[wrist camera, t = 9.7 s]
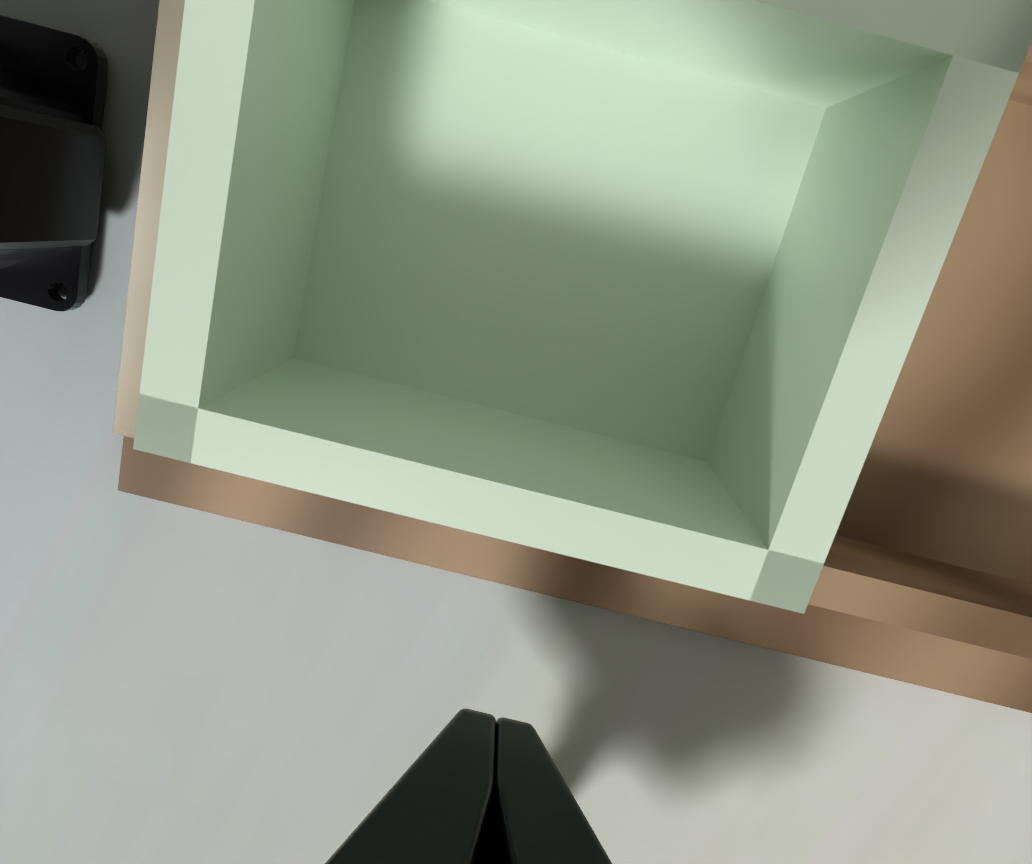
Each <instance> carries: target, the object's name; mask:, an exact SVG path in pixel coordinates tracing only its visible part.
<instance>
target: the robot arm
mask: <svg viewBox="0 0 1032 864" xmlns="http://www.w3.org/2000/svg"><path fill="white" fill-rule="evenodd" d="M82 51H84V52H85V54H86V55H87V60H88V63H87V65H86V68H84V69H83V70H82V71H80V70H79V68H78V67H77V63H76V58H77V55H78V54H79V53H80V52H82ZM107 69H108V67H107V59H106V56H105V54H104V52H103V50H102V49H101V48H100V47H99V46H98V45H97V44H96V43H94V42H92V41H89V40H87V39H85V38H82V37H80V36H77V35H73V34H69V33H65V32H62V31H58V30H54V29H50V28H46V27H43V26H39V25H35V24H31V23H28V22H24V21H20V20H16V19H12V18H9V17H5V16H1V15H0V297H3V298H7V299H11V300H15V301H19V302H23V303H27V304H31V305H35V306H39V307H43V308H47V309H51V310H55V311H68V310H73V309H76V308H78V307H80V306H81V305H82V304H83V303H84V301H85V298H86V295H87V284H88V274H89V263H90V252H91V243H92V242H93V241H94V240H96V238H97V234H98V224H99V213H100V203H101V192H102V182H103V171H104V160H105V150H106V139H105V137H104V135H103V133H102V123H103V112H104V101H105V90H106V80H107ZM60 282H61V283H63V284H64V285H65V287H66V288H67V292H68V295H67V297H66V299H64V298H62V297H61V296H60V295H59V293H58V289H57V287H58V284H59V283H60ZM325 864H612V863H611V861H610V859H609V858H608V856H607V854H606V852H605V851H604V849H603V847H602V845H601V844H600V842H599V840H598V838H597V837H596V835H595V833H594V831H593V830H592V828H591V826H590V824H589V823H588V821H587V819H586V818H585V816H584V814H583V812H582V811H581V809H580V807H579V805H578V804H577V802H576V800H575V798H574V797H573V795H572V793H571V791H570V790H569V788H568V786H567V784H566V783H565V781H564V779H563V778H562V776H561V774H560V772H559V771H558V769H557V767H556V765H555V764H554V762H553V760H552V758H551V757H550V755H549V753H548V751H547V750H546V748H545V746H544V744H543V743H542V741H541V739H540V738H539V736H538V734H537V732H536V731H535V729H534V727H533V726H532V725H530V724H528V723H524V722H520V721H516V720H512V719H507V718H499V719H498V720H497V721H496V720H495V718H494V717H493V716H492V715H490V714H486V713H482V712H478V711H474V710H470V709H462V710H460V711H459V712H458V713H457V714H456V715H455V717H454V718H453V719H452V720H451V721H450V722H449V723H448V724H447V726H446V727H445V728H444V729H443V730H442V731H441V732H440V734H439V735H438V736H437V737H436V738H435V739H434V740H433V741H432V743H431V744H430V745H429V746H428V747H427V748H426V749H425V751H424V752H423V753H422V754H421V755H420V756H419V757H418V759H417V760H416V761H415V762H414V763H413V764H412V765H411V766H410V768H409V769H408V770H407V771H406V772H405V773H404V774H403V776H402V777H401V778H400V779H399V780H398V781H397V782H396V784H395V785H394V786H393V787H392V788H391V789H390V790H389V791H388V793H387V794H386V795H385V796H384V797H383V798H382V799H381V801H380V802H379V803H378V804H377V805H376V806H375V807H374V809H373V810H372V811H371V812H370V813H369V814H368V815H367V816H366V818H365V819H364V820H363V821H362V822H361V823H360V824H359V826H358V827H357V828H356V829H355V830H354V831H353V832H352V834H351V835H350V836H349V837H348V838H347V839H346V840H345V841H344V843H343V844H342V845H341V846H340V847H339V848H338V849H337V851H336V852H335V853H334V854H333V855H332V856H331V857H330V859H329V860H328V861H327V862H326V863H325Z"/></svg>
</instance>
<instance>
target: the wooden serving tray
mask: <svg viewBox="0 0 1032 864" xmlns="http://www.w3.org/2000/svg"><path fill="white" fill-rule="evenodd" d="M184 5H185V0H159V9H158V18H157V28H156V37H155V46H154V56H153V65H152V74H151V83H150V93H149V102H148V111H147V121H146V130H145V139H144V148H143V158H142V167H141V176H140V186H139V195H138V204H137V214H136V223H135V232H134V241H133V251H132V260H131V269H130V279H129V288H128V297H127V306H126V316H125V325H124V334H123V344H122V353H121V362H120V371H119V381H118V390H117V399H116V409H115V418H114V427H113V433H115V434H119V435H123V436H124V439H123V448H122V457H121V466H120V475H119V484H118V490H119V491H123V492H127V493H131V494H135V495H140V496H144V497H148V498H152V499H156V500H160V501H164V502H168V503H172V504H176V505H181V506H185V507H189V508H193V509H197V510H201V511H205V512H209V513H213V514H218V515H222V516H226V517H230V518H234V519H238V520H242V521H246V522H250V523H254V524H259V525H263V526H267V527H271V528H275V529H279V530H283V531H287V532H291V533H296V534H300V535H304V536H308V537H312V538H316V539H320V540H324V541H328V542H332V543H337V544H341V545H345V546H349V547H353V548H357V549H361V550H365V551H369V552H374V553H378V554H382V555H386V556H390V557H394V558H398V559H402V560H406V561H410V562H415V563H419V564H423V565H427V566H431V567H435V568H439V569H443V570H447V571H451V572H456V573H460V574H464V575H468V576H472V577H476V578H480V579H484V580H488V581H493V582H497V583H501V584H505V585H509V586H513V587H517V588H521V589H525V590H529V591H534V592H538V593H542V594H546V595H550V596H554V597H558V598H562V599H566V600H571V601H575V602H579V603H583V604H587V605H591V606H595V607H599V608H603V609H607V610H612V611H616V612H620V613H624V614H628V615H632V616H636V617H640V618H644V619H649V620H653V621H657V622H661V623H665V624H669V625H673V626H677V627H681V628H685V629H690V630H694V631H698V632H702V633H706V634H710V635H714V636H718V637H722V638H726V639H731V640H735V641H739V642H743V643H747V644H751V645H755V646H759V647H763V648H768V649H772V650H776V651H780V652H784V653H788V654H792V655H796V656H800V657H804V658H809V659H813V660H817V661H821V662H825V663H829V664H833V665H837V666H841V667H846V668H850V669H854V670H858V671H862V672H866V673H870V674H874V675H878V676H882V677H887V678H891V679H895V680H899V681H903V682H907V683H911V684H915V685H919V686H924V687H928V688H932V689H936V690H940V691H944V692H948V693H952V694H956V695H960V696H965V697H969V698H973V699H977V700H981V701H985V702H989V703H993V704H997V705H1002V706H1006V707H1010V708H1014V709H1018V710H1022V711H1026V712H1030V713H1032V42H1031V44H1030V47H1029V49H1028V52H1027V54H1026V57H1025V59H1024V62H1023V65H1022V67H1021V70H1020V72H1019V75H1018V77H1017V80H1016V82H1015V85H1014V87H1013V90H1012V92H1011V95H1010V97H1009V100H1008V102H1007V105H1006V107H1005V110H1004V112H1003V115H1002V117H1001V120H1000V122H999V125H998V127H997V130H996V132H995V135H994V137H993V140H992V142H991V145H990V147H989V150H988V153H987V155H986V158H985V160H984V163H983V165H982V168H981V170H980V173H979V175H978V178H977V180H976V183H975V185H974V188H973V190H972V193H971V195H970V198H969V200H968V203H967V205H966V208H965V210H964V213H963V215H962V218H961V220H960V223H959V225H958V228H957V230H956V233H955V236H954V238H953V241H952V243H951V246H950V248H949V251H948V253H947V256H946V258H945V261H944V263H943V266H942V268H941V271H940V273H939V276H938V278H937V281H936V283H935V286H934V288H933V291H932V293H931V296H930V298H929V301H928V303H927V306H926V308H925V311H924V313H923V316H922V318H921V321H920V324H919V326H918V329H917V331H916V334H915V336H914V339H913V341H912V344H911V346H910V349H909V351H908V354H907V356H906V359H905V361H904V364H903V366H902V369H901V371H900V374H899V376H898V379H897V381H896V384H895V386H894V389H893V391H892V394H891V396H890V399H889V401H888V404H887V406H886V409H885V412H884V414H883V417H882V419H881V422H880V424H879V427H878V429H877V432H876V434H875V437H874V439H873V442H872V444H871V447H870V449H869V452H868V454H867V457H866V459H865V462H864V464H863V467H862V469H861V472H860V474H859V477H858V479H857V482H856V484H855V487H854V489H853V492H852V495H851V497H850V500H849V502H848V505H847V507H846V510H845V512H844V515H843V517H842V520H841V522H840V525H839V527H838V530H837V532H836V535H835V537H834V540H833V542H832V545H831V547H830V550H829V552H828V555H827V557H826V560H825V562H824V565H823V567H822V570H821V572H820V575H819V577H818V580H817V583H816V585H815V588H814V590H813V593H812V595H811V598H810V600H809V603H808V605H807V608H806V610H805V613H804V614H802V613H798V612H794V611H790V610H786V609H782V608H778V607H774V606H770V605H766V604H762V603H758V602H754V601H750V600H745V599H741V598H737V597H733V596H729V595H725V594H721V593H717V592H713V591H709V590H705V589H701V588H697V587H693V586H688V585H684V584H680V583H676V582H672V581H668V580H664V579H660V578H656V577H652V576H648V575H644V574H640V573H636V572H631V571H627V570H623V569H619V568H615V567H611V566H607V565H603V564H599V563H595V562H591V561H587V560H583V559H579V558H574V557H570V556H566V555H562V554H558V553H554V552H550V551H546V550H542V549H538V548H534V547H530V546H526V545H522V544H518V543H513V542H509V541H505V540H501V539H497V538H493V537H489V536H485V535H481V534H477V533H473V532H469V531H465V530H461V529H456V528H452V527H448V526H444V525H440V524H436V523H432V522H428V521H424V520H420V519H416V518H412V517H408V516H404V515H399V514H395V513H391V512H387V511H383V510H379V509H375V508H371V507H367V506H363V505H359V504H355V503H351V502H347V501H342V500H338V499H334V498H330V497H326V496H322V495H318V494H314V493H310V492H306V491H302V490H298V489H294V488H290V487H286V486H281V485H277V484H273V483H269V482H265V481H261V480H257V479H253V478H249V477H245V476H241V475H237V474H233V473H229V472H224V471H220V470H216V469H212V468H208V467H204V466H200V465H196V464H192V463H188V462H184V461H180V460H176V459H172V458H167V457H163V456H159V455H155V454H151V453H147V452H143V451H139V450H135V449H133V445H134V436H135V427H136V419H137V410H138V401H139V393H140V384H141V376H142V367H143V358H144V350H145V341H146V333H147V324H148V315H149V307H150V298H151V289H152V281H153V272H154V264H155V255H156V246H157V238H158V229H159V220H160V212H161V203H162V195H163V186H164V177H165V169H166V160H167V152H168V143H169V134H170V126H171V117H172V108H173V100H174V91H175V83H176V74H177V65H178V57H179V48H180V39H181V31H182V22H183V14H184Z"/></svg>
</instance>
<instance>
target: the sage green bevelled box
mask: <svg viewBox="0 0 1032 864" xmlns="http://www.w3.org/2000/svg"><path fill="white" fill-rule="evenodd" d="M1031 42H1032V0H185V5H184V14H183V22H182V31H181V39H180V48H179V57H178V65H177V74H176V83H175V91H174V100H173V108H172V117H171V126H170V134H169V143H168V152H167V160H166V169H165V177H164V186H163V195H162V203H161V212H160V220H159V229H158V238H157V246H156V255H155V264H154V272H153V281H152V289H151V298H150V307H149V315H148V324H147V333H146V341H145V350H144V358H143V367H142V376H141V384H140V393H139V401H138V410H137V419H136V427H135V436H134V445H133V449H135V450H139V451H143V452H147V453H151V454H155V455H159V456H163V457H167V458H172V459H176V460H180V461H184V462H188V463H192V464H196V465H200V466H204V467H208V468H212V469H216V470H220V471H224V472H229V473H233V474H237V475H241V476H245V477H249V478H253V479H257V480H261V481H265V482H269V483H273V484H277V485H281V486H286V487H290V488H294V489H298V490H302V491H306V492H310V493H314V494H318V495H322V496H326V497H330V498H334V499H338V500H342V501H347V502H351V503H355V504H359V505H363V506H367V507H371V508H375V509H379V510H383V511H387V512H391V513H395V514H399V515H404V516H408V517H412V518H416V519H420V520H424V521H428V522H432V523H436V524H440V525H444V526H448V527H452V528H456V529H461V530H465V531H469V532H473V533H477V534H481V535H485V536H489V537H493V538H497V539H501V540H505V541H509V542H513V543H518V544H522V545H526V546H530V547H534V548H538V549H542V550H546V551H550V552H554V553H558V554H562V555H566V556H570V557H574V558H579V559H583V560H587V561H591V562H595V563H599V564H603V565H607V566H611V567H615V568H619V569H623V570H627V571H631V572H636V573H640V574H644V575H648V576H652V577H656V578H660V579H664V580H668V581H672V582H676V583H680V584H684V585H688V586H693V587H697V588H701V589H705V590H709V591H713V592H717V593H721V594H725V595H729V596H733V597H737V598H741V599H745V600H750V601H754V602H758V603H762V604H766V605H770V606H774V607H778V608H782V609H786V610H790V611H794V612H798V613H802V614H804V613H805V610H806V608H807V605H808V603H809V600H810V598H811V595H812V593H813V590H814V588H815V585H816V583H817V580H818V577H819V575H820V572H821V570H822V567H823V565H824V562H825V560H826V557H827V555H828V552H829V550H830V547H831V545H832V542H833V540H834V537H835V535H836V532H837V530H838V527H839V525H840V522H841V520H842V517H843V515H844V512H845V510H846V507H847V505H848V502H849V500H850V497H851V495H852V492H853V489H854V487H855V484H856V482H857V479H858V477H859V474H860V472H861V469H862V467H863V464H864V462H865V459H866V457H867V454H868V452H869V449H870V447H871V444H872V442H873V439H874V437H875V434H876V432H877V429H878V427H879V424H880V422H881V419H882V417H883V414H884V412H885V409H886V406H887V404H888V401H889V399H890V396H891V394H892V391H893V389H894V386H895V384H896V381H897V379H898V376H899V374H900V371H901V369H902V366H903V364H904V361H905V359H906V356H907V354H908V351H909V349H910V346H911V344H912V341H913V339H914V336H915V334H916V331H917V329H918V326H919V324H920V321H921V318H922V316H923V313H924V311H925V308H926V306H927V303H928V301H929V298H930V296H931V293H932V291H933V288H934V286H935V283H936V281H937V278H938V276H939V273H940V271H941V268H942V266H943V263H944V261H945V258H946V256H947V253H948V251H949V248H950V246H951V243H952V241H953V238H954V236H955V233H956V230H957V228H958V225H959V223H960V220H961V218H962V215H963V213H964V210H965V208H966V205H967V203H968V200H969V198H970V195H971V193H972V190H973V188H974V185H975V183H976V180H977V178H978V175H979V173H980V170H981V168H982V165H983V163H984V160H985V158H986V155H987V153H988V150H989V147H990V145H991V142H992V140H993V137H994V135H995V132H996V130H997V127H998V125H999V122H1000V120H1001V117H1002V115H1003V112H1004V110H1005V107H1006V105H1007V102H1008V100H1009V97H1010V95H1011V92H1012V90H1013V87H1014V85H1015V82H1016V80H1017V77H1018V75H1019V72H1020V70H1021V67H1022V65H1023V62H1024V59H1025V57H1026V54H1027V52H1028V49H1029V47H1030V44H1031Z"/></svg>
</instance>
